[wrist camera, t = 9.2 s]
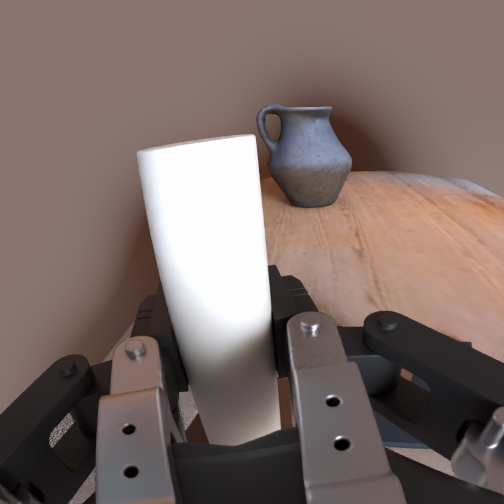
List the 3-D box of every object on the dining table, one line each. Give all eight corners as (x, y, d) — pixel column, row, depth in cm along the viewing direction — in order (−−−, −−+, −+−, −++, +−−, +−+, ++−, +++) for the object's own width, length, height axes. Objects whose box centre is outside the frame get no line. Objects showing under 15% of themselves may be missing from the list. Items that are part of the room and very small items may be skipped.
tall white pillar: (277, 566, 8) (203, 153, 3) (161, 523, 10) (-17, 195, 5) (331, 425, 15) (337, 127, 10) (237, 406, 17) (193, 138, 12)
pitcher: (364, 210, 69) (359, 96, 60) (267, 219, 70) (254, 101, 60) (341, 191, 88) (335, 102, 79) (264, 198, 89) (254, 107, 79)
